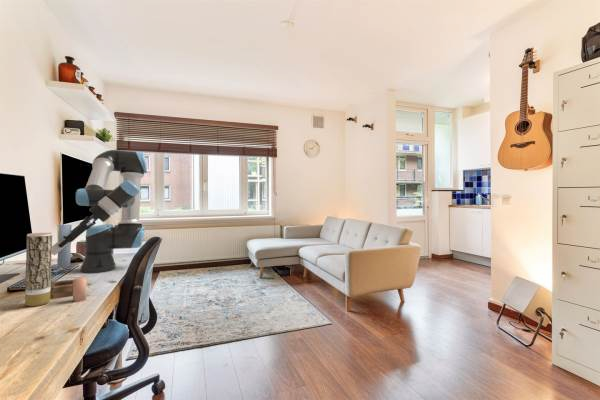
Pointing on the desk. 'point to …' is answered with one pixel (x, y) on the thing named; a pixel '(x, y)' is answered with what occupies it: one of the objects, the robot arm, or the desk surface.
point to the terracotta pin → (79, 289)
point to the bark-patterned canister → (38, 269)
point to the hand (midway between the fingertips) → (51, 252)
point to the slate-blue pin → (65, 253)
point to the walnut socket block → (61, 289)
